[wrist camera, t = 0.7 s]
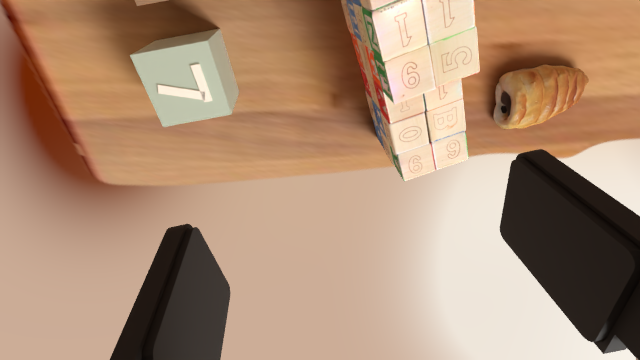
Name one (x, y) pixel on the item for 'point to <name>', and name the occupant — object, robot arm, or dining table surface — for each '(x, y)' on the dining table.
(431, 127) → the stack of blocks
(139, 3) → the blank block
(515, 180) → the robot arm
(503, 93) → the pastry
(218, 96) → the block seven
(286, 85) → the dining table surface
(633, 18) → the dining table surface
